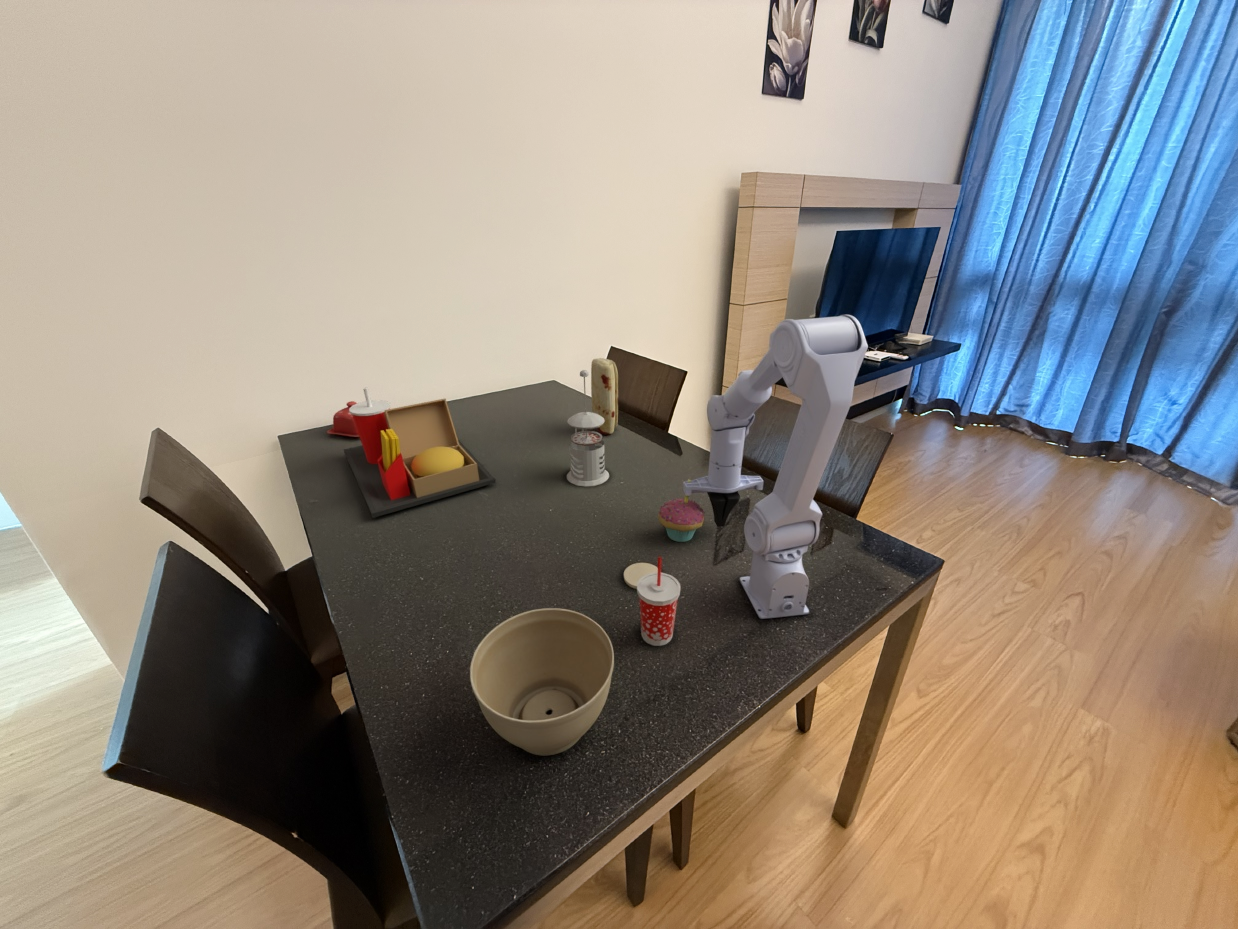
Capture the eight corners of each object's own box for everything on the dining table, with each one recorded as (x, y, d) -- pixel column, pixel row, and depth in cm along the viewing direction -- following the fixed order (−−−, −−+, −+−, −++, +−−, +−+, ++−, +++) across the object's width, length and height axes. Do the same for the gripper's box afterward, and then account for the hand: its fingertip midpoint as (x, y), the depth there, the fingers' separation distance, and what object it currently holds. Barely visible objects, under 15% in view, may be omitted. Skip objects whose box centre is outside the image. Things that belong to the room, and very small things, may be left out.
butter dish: (356, 421, 151) (349, 392, 147) (389, 425, 148) (383, 397, 144) (325, 436, 141) (316, 407, 137) (360, 442, 138) (352, 411, 134)
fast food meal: (374, 522, 104) (351, 436, 96) (345, 456, 130) (326, 385, 122) (496, 486, 117) (486, 408, 108) (447, 433, 143) (436, 366, 134)
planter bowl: (464, 703, 67) (451, 640, 62) (576, 651, 75) (573, 591, 70) (511, 816, 55) (500, 749, 50) (639, 740, 62) (641, 675, 57)
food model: (587, 426, 146) (584, 355, 137) (609, 422, 149) (608, 352, 140) (600, 439, 138) (598, 365, 129) (623, 435, 141) (623, 362, 132)
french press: (572, 489, 115) (566, 379, 104) (560, 466, 125) (554, 363, 114) (614, 482, 118) (613, 374, 107) (600, 460, 128) (597, 359, 116)
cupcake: (674, 517, 105) (677, 464, 100) (711, 533, 100) (716, 478, 95) (649, 537, 99) (650, 481, 94) (687, 554, 94) (691, 497, 89)
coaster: (665, 587, 86) (665, 585, 86) (626, 591, 86) (626, 588, 85) (657, 563, 92) (657, 561, 92) (621, 567, 91) (621, 564, 91)
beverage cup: (663, 656, 74) (666, 577, 67) (627, 637, 77) (628, 560, 71) (685, 631, 78) (690, 554, 72) (651, 613, 81) (653, 538, 75)
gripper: (756, 447, 98) (748, 509, 104) (680, 452, 96) (676, 515, 102) (771, 464, 92) (762, 529, 98) (690, 470, 90) (685, 535, 96)
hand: (719, 523), depth 100 cm, fingers closed
